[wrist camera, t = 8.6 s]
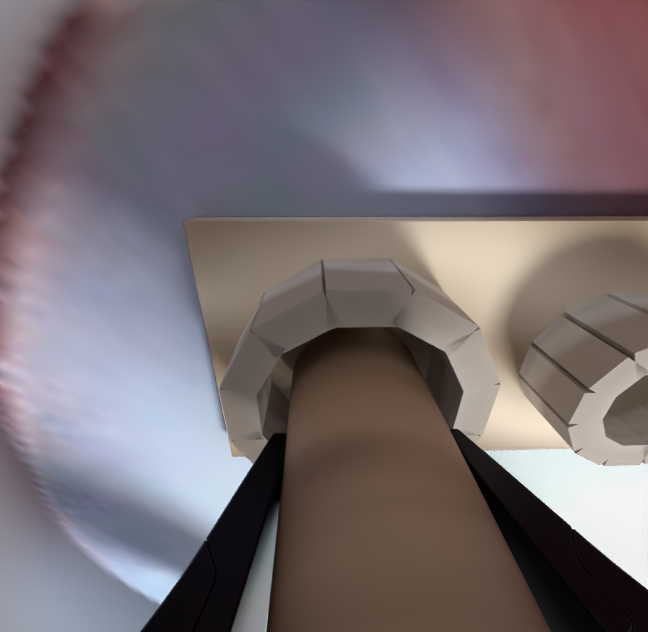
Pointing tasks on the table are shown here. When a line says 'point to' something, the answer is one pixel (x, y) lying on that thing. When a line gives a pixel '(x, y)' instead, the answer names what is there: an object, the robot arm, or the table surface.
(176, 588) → the robot arm
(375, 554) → the walnut peg
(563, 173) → the table surface
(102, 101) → the table surface
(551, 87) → the table surface
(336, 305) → the two-ring peg board
